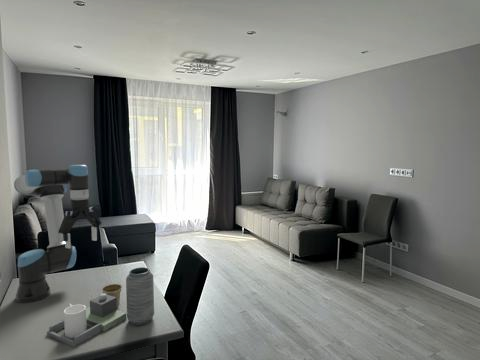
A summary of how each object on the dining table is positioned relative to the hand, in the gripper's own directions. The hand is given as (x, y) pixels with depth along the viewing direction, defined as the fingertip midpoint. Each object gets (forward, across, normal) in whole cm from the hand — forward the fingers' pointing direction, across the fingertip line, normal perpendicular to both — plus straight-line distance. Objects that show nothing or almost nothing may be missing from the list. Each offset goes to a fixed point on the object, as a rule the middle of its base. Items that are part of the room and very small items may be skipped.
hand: (81, 244), depth 150 cm
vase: (+33, +7, -29) cm, 44 cm away
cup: (+33, -12, -10) cm, 37 cm away
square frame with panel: (+33, -8, -12) cm, 36 cm away
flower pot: (+33, +11, -6) cm, 35 cm away
